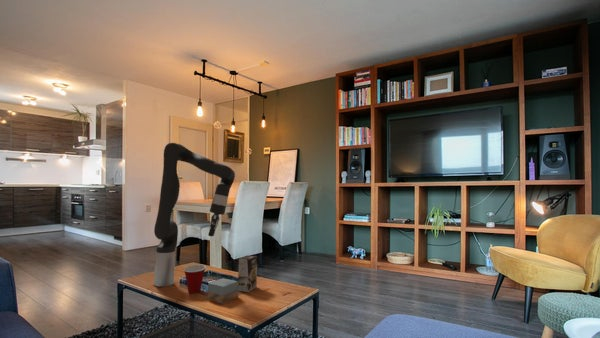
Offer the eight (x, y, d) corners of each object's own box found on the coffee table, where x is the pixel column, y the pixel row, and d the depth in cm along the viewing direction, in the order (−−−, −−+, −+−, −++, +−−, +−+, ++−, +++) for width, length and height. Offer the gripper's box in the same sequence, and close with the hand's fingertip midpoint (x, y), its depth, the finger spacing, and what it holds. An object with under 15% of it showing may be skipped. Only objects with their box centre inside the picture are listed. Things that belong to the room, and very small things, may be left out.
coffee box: (248, 292, 156) (249, 259, 157) (237, 290, 158) (238, 258, 159) (257, 287, 165) (257, 255, 166) (246, 285, 167) (246, 254, 168)
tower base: (207, 300, 145) (207, 292, 146) (222, 294, 154) (222, 286, 154) (223, 305, 140) (223, 295, 141) (238, 298, 149) (238, 289, 149)
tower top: (208, 292, 146) (208, 283, 146) (222, 286, 154) (222, 278, 154) (223, 295, 141) (223, 286, 141) (237, 289, 149) (237, 281, 149)
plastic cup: (177, 293, 153) (178, 268, 154) (191, 287, 163) (192, 263, 164) (196, 296, 150) (197, 270, 150) (209, 289, 160) (210, 265, 161)
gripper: (212, 203, 168) (204, 234, 165) (210, 201, 155) (202, 234, 151) (226, 206, 170) (219, 237, 166) (226, 204, 156) (217, 237, 152)
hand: (211, 235), depth 158 cm, fingers open, 8 cm apart
